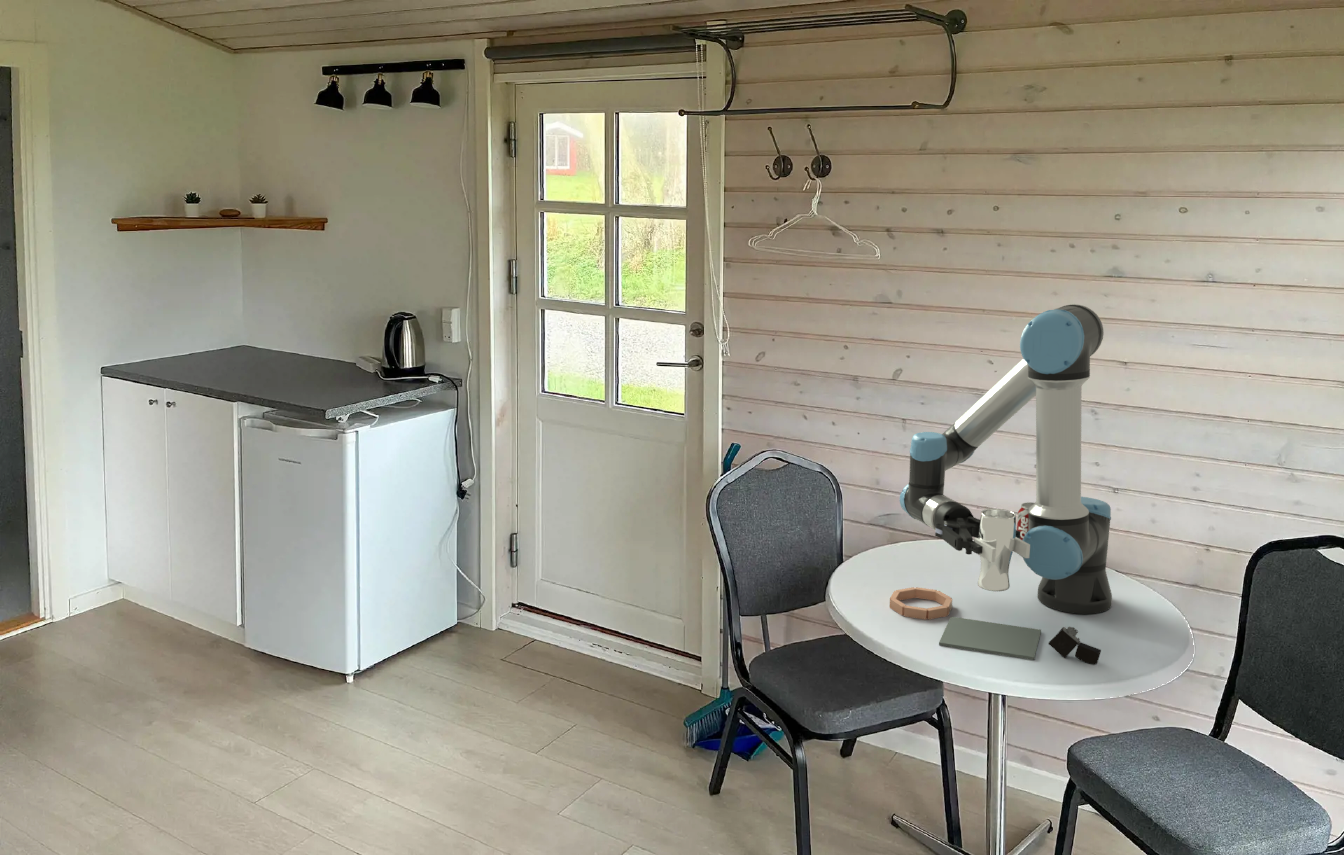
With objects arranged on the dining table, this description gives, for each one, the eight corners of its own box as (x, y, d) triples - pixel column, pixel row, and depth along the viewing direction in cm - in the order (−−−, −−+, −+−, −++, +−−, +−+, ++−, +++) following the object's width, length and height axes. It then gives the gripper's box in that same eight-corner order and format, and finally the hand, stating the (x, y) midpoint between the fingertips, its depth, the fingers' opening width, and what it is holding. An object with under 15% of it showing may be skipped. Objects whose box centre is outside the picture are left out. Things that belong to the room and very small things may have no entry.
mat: (1040, 632, 232) (1041, 629, 232) (1033, 660, 219) (1034, 657, 219) (950, 619, 239) (950, 616, 239) (938, 645, 226) (939, 642, 226)
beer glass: (1013, 593, 223) (1018, 520, 219) (976, 591, 224) (981, 517, 220) (1010, 580, 229) (1015, 509, 226) (974, 578, 231) (979, 507, 227)
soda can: (1047, 551, 279) (1051, 504, 276) (1040, 559, 273) (1043, 511, 270) (1019, 546, 282) (1023, 500, 279) (1011, 554, 277) (1015, 507, 274)
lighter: (1087, 671, 221) (1106, 652, 218) (1084, 675, 219) (1103, 656, 216) (1051, 639, 223) (1069, 620, 221) (1047, 643, 222) (1065, 624, 219)
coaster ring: (954, 601, 248) (955, 592, 248) (945, 622, 237) (945, 613, 237) (897, 593, 253) (898, 584, 252) (885, 613, 242) (885, 604, 241)
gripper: (988, 530, 245) (1053, 566, 224) (905, 539, 239) (964, 577, 218) (990, 496, 243) (1056, 530, 222) (907, 505, 237) (966, 540, 216)
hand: (1010, 553), depth 220 cm, fingers closed on beer glass, 7 cm apart
